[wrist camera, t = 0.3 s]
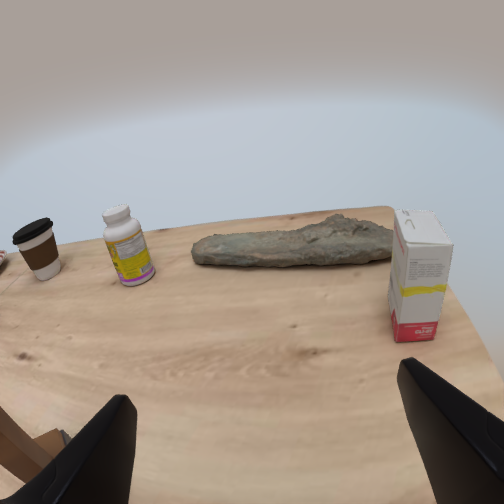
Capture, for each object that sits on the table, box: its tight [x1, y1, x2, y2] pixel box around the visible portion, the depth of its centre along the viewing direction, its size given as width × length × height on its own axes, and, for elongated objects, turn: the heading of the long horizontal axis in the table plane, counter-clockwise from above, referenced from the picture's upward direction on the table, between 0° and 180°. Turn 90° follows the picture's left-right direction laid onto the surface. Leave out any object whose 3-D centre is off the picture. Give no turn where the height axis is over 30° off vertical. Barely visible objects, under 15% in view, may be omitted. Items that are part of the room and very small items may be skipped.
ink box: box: [388, 210, 453, 342], centre depth 30 cm, size 9×5×12 cm, turn 165°
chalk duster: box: [0, 407, 72, 483], centre depth 14 cm, size 12×5×14 cm, turn 39°
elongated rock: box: [191, 214, 394, 267], centre depth 50 cm, size 35×5×10 cm
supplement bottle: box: [102, 204, 155, 286], centre depth 50 cm, size 7×7×13 cm
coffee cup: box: [13, 218, 60, 281], centre depth 58 cm, size 11×11×12 cm
